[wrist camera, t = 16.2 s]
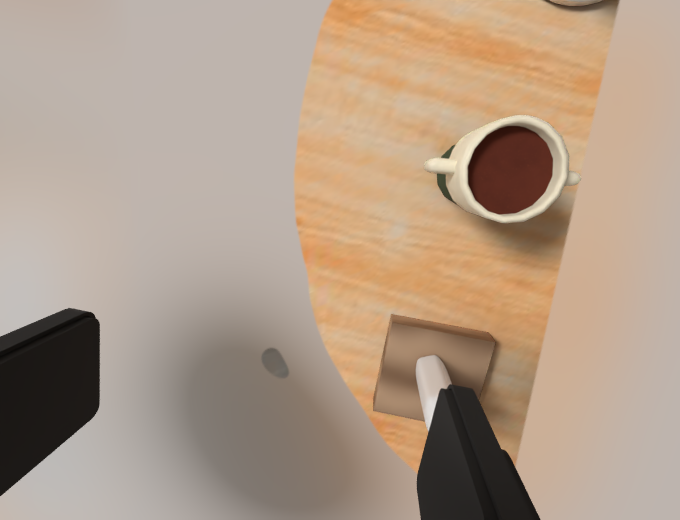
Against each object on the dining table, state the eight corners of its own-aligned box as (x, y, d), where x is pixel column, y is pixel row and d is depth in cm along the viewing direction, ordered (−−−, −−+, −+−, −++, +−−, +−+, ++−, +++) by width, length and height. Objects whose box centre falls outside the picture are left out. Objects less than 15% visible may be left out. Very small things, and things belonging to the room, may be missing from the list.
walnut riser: (391, 314, 40) (392, 322, 38) (488, 332, 40) (495, 342, 37) (373, 397, 43) (373, 410, 41) (464, 416, 42) (469, 430, 40)
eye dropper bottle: (459, 359, 38) (496, 439, 27) (444, 403, 40) (472, 497, 28) (419, 349, 38) (439, 423, 27) (405, 393, 40) (418, 482, 28)
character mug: (529, 142, 35) (615, 122, 23) (513, 214, 37) (585, 232, 24) (418, 131, 36) (441, 106, 23) (407, 202, 38) (424, 215, 25)
